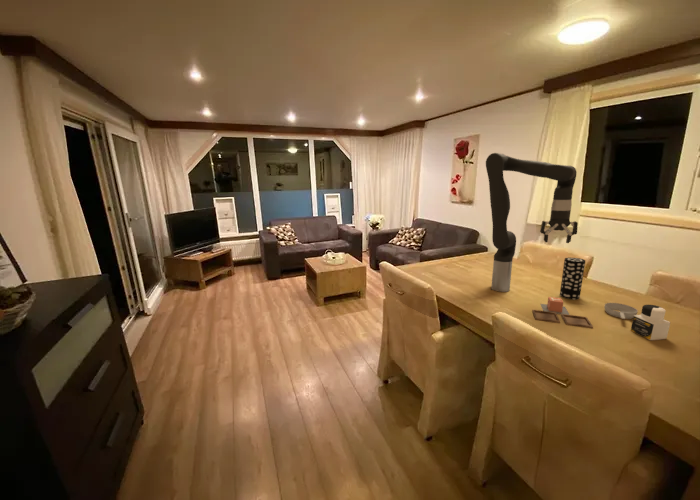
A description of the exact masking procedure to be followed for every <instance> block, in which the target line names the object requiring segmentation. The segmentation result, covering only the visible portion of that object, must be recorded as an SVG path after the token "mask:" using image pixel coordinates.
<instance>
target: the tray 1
mask: <svg viewBox="0 0 700 500" xmlns="http://www.w3.org/2000/svg"><path fill="white" fill-rule="evenodd" d="M531 312H532V315H533V317H534V320H535V321H542V322H547V323H548V322H549V323H557V324H561V320H560V319H559V316H558V314H556V313H555V312H548V311H543V310H540V309H532V311H531Z"/></svg>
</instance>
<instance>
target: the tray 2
mask: <svg viewBox="0 0 700 500" xmlns="http://www.w3.org/2000/svg"><path fill="white" fill-rule="evenodd" d="M560 316H561V318H562V319H563V322H564V324H565V325H567V326H572V327H573V326H574V327H579V328H586V329H594V326H593V324H592V323H591V321H590V319H588V317H587V316H581V315H573V314H570V315H567V314H560Z"/></svg>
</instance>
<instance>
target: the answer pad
mask: <svg viewBox="0 0 700 500" xmlns="http://www.w3.org/2000/svg"><path fill="white" fill-rule="evenodd" d="M540 307H541V309H542V311H548V312H555V311H549V310H548V307H547V303H546V304H545V303H540ZM555 313H556V314H557V315H561V314H567V315H571V314H570V312H569V311H568V310H567V308H566V306H564V305H563V309H562V312H555Z"/></svg>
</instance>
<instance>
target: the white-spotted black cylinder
mask: <svg viewBox="0 0 700 500" xmlns="http://www.w3.org/2000/svg"><path fill="white" fill-rule="evenodd" d="M585 266H586V260H585V259H583V258H579V257H565V258H564V262H563V269H562V276H561V283H560V284H561V285H560V291H559V296H560V298H564V299H567V300H571V301H572V300H573V301H575V300H577V301H578V300H579V299H580V298H581V292H582V286H583V280H584V272H585Z"/></svg>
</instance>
